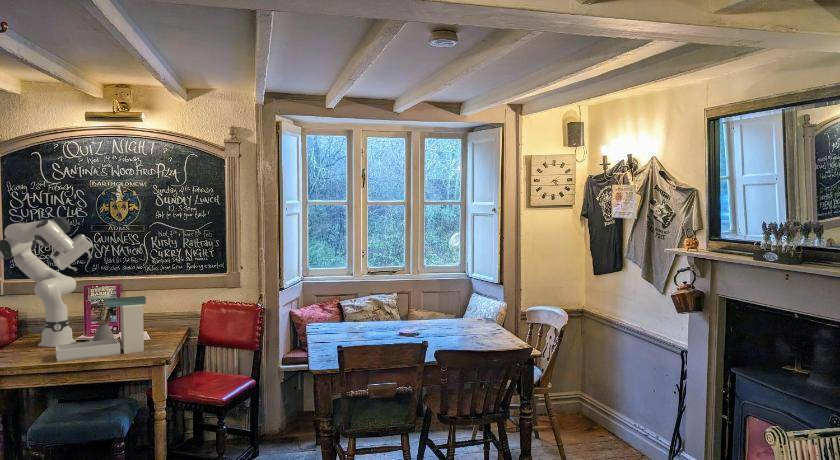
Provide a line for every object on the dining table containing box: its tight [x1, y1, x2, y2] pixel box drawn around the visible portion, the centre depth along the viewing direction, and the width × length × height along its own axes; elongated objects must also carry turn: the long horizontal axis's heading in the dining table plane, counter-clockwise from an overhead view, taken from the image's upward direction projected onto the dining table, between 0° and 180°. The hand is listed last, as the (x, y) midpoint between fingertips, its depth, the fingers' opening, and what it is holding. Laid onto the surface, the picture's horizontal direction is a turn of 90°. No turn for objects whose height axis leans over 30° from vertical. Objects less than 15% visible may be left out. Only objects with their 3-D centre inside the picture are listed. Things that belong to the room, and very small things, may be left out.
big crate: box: [55, 338, 121, 363], centre depth 333 cm, size 13×30×6 cm, turn 123°
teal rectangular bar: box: [104, 295, 147, 308], centre depth 342 cm, size 4×20×4 cm, turn 123°
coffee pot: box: [92, 312, 116, 341], centre depth 365 cm, size 21×12×15 cm, turn 12°
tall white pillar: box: [119, 304, 145, 354], centre depth 345 cm, size 12×10×26 cm
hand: (83, 264), depth 332 cm, fingers open, 8 cm apart
